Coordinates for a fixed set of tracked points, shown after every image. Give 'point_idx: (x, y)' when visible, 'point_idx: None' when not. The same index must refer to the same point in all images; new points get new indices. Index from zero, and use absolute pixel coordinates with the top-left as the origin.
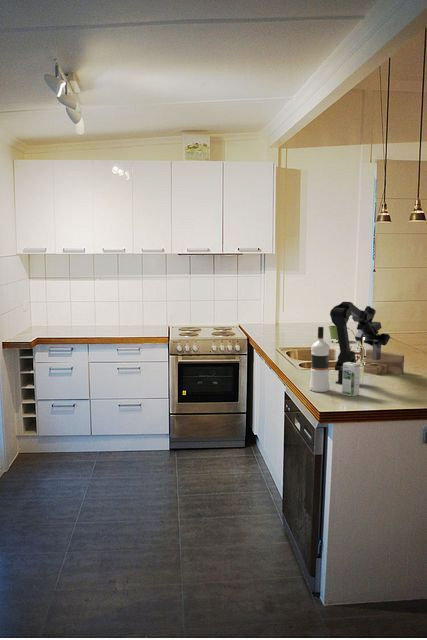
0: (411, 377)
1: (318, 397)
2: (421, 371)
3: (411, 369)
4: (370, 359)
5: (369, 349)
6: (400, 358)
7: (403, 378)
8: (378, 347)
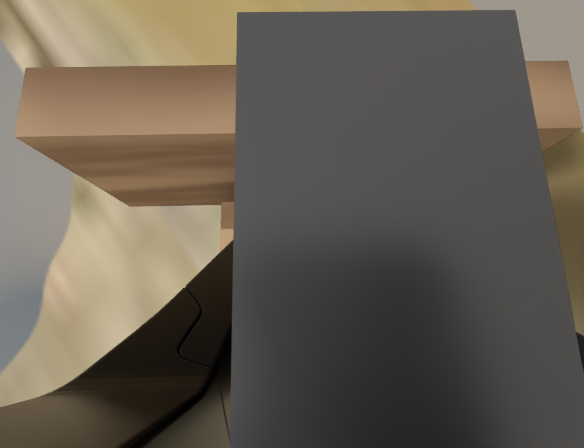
0: (576, 222)
1: None
2: (475, 7)
3: (394, 4)
4: (150, 179)
5: (36, 75)
6: (547, 143)
7: (572, 303)
8: None
